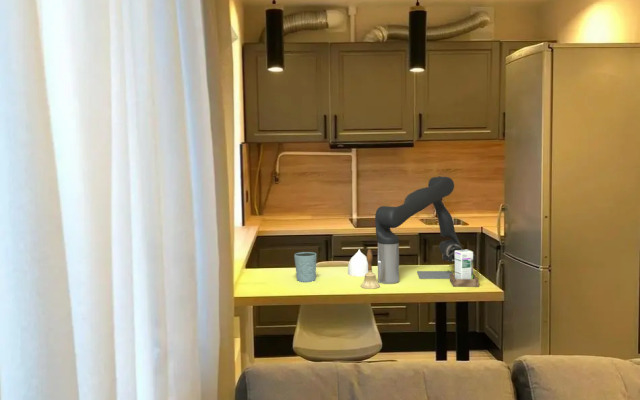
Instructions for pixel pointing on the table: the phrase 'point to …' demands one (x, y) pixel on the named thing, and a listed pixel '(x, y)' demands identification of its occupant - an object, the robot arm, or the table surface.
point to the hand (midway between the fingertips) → (461, 260)
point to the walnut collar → (464, 281)
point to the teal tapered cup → (305, 266)
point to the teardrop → (358, 265)
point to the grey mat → (434, 274)
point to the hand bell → (370, 274)
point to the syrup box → (463, 264)
